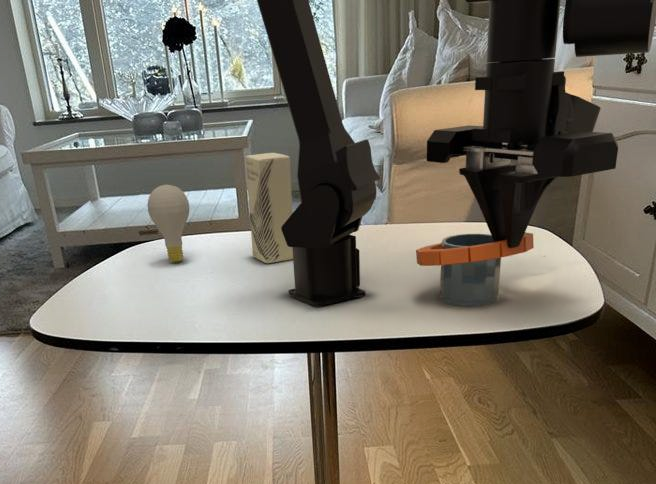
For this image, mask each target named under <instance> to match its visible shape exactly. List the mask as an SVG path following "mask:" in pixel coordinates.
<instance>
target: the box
mask: <svg viewBox="0 0 656 484" xmlns="http://www.w3.org/2000/svg"><path fill="white" fill-rule="evenodd" d="M244 158H245V167H246V168H245V169H246V170H245V171H246V181H247V195H248V207H249V208H248V209H249V210H248V211H249V221H250V223H249V224H250V234H251V235H250V236H251V247H252V248H251V249H252V256H253V257H254V258H255V259H256V260H258V261H261V262H262V263H264V264H272V263H279V262H285V261H286V262H287V261H291V260H293V250H292V247H288V246H287V243H286V241H285V238H284V235H283V233H282V230H281V227H282V225H283V224H284V223H285V222H286V221H287V219H288V218H289V217H290V216H291V215H292V213H293V197H292V195H293V194H292V173H291V171H292V170H291V157H290V156H289V155H285V154H284V153H283V154H282V153H277V152H267V153H257V154H249V155H245V157H244Z"/></svg>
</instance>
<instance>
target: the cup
mask: <svg viewBox="0 0 656 484" xmlns="http://www.w3.org/2000/svg"><path fill="white" fill-rule="evenodd" d="M493 242H494V240H493V238H492V235H491V233H490V234H489V233H488V234H486V233H461V234H454V235H449V236H447V237H444V238H443V239H442V240H441V242H440V243H441V249H449V248H458V247H467V246H474V245H480V244H487V243H493ZM501 264H502V257H500V258H496V259H489V260H483V261H477V262H468V263H460V264H451V265H440V279H439V281H440V282H439V299H440V301H441V302H443V303H445V304H447V305H451V306H456V307H479V306H486V305H490V304H493V303H495V302H497V301H498V299H499V293H500V279H501Z"/></svg>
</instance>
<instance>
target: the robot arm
mask: <svg viewBox="0 0 656 484" xmlns="http://www.w3.org/2000/svg"><path fill="white" fill-rule="evenodd" d="M256 2H257V5H258V8H259V12H260V16H261V20H262V22H263V25H264V29H265V31H266V35H267V39H268V42H269V45H270V49H271V52H272V57H273V59H274V62H275V66H276V69H277V72H278V76H279V80H280V83H281V85H282V89H283V92H284V96H285V99H286V102H287V106H288V109H289V113H290V115H291V120H292V122H293V127H294V129H295V132H296V136H297V139H298V157H297V158H298V159H297V172H296V178H297V185H298V191H299V198H300V203H299V204H298V206H297V207H296V209H294V210H293V211H292V215H291V216H290V217H289V218H288V219H287V221H286V222H285V223H284V224H283V225H282V227H281V230H282V233H283V235H284V238H285V241H286V243H287V246H288V247H292V250H293V259H292V264H293V265H292V266H293V281H294V288H291V289H288V296H291V297H293V298H296V299H298V300H299V301H303V302H305V303H307V304H309V305H311V306H313V307H321V306H326V305H329V304H334V303H338V302H342V301H347V300H350V299H351V300H352V299H355V298H360V297H364V296H366V290H364V289H362V288H359V287H360V286H361V264H360V263H361V262H360V261H361V260H360V249H359V248H357V236H356V235H353V233H357V232H358V231H359V230H360V226H361V223H362V220H363V217H364V216H366V214H368V212H369V211H370V210H371V209H372V208H373V205H374V203H375V201H376V199H377V184H376V182H377V181H380V180H381V175H379V173H378V172H377V170H376V167H375V166H374V163H373V156H372V149H371V148H372V147H371V145H370V141H369V140H368V139H367V138H366V139H364V140H359V141H357V142H356V141H355V140H354V139H353V138H352V137H351V135H350V134H349V132H348V131H347V130H346V128H345V125H344V123H343V119H342V116H341V112H340V110H339V105H338V102H337V99H336V94H335V90H334V88H333V84H332V80H331V76H330V73H329V68H328V65H327V62H326V58H325V55H324V52H323V48H322V45H321V40H320V36H319V33H318V29H317V26H316V23H315V19H314V15H313V11H312V8H311V4H310V1H309V0H256ZM465 2H466V3H469V4H489V6H488V8H489V9H488V26H487V27H488V28H487V44H486V46H487V47H486V63H485V64H486V65H485V66H486V67H485V76H475V81H474V91H484V102H483V103H484V104H483V120H482V121H483V122H482V124H483V125H470V124H469V125H461V126H454V127H447V128H440V129H434V130H433V131H432V133H431V135H430V136H429V137H428V139H427V140H426V162H430V163H431V162H432V163H438V164H445V163H447V164H448V163H449V162H450V160H451V159H454V158H459V157H463V156H464V157H465V167H461V168H459V169H458V173H459V176H463V177H464V178H465V180H466V182H467V184H468V186H469V188H470V190H471V192H472V194H473V196H474V198H475V200H476V202H477V204H478V206H479V209H480V211H481V214H482V216H483V219H484V221H485V224H486V226H487V228H488V230H489V233H490V235H492V238H493V240H494V242H498V241H502V240H507V244H508V247H509V248H515V247H518V246H519V245H520V243H521V240H522V238H523V236H524V233H525V232H526V231H527V229H528V226H529V224H530V222H531V219H532V217H533V215H534V212H535V210H536V208H537V206H538V204H539V202H540V200H541V199H542V196H543V194H544V193H545V191H546V189H547V188H548V187H549V186H550V185H551V184H552V183H553V182H554V181H555V180H556V179H557V178H569V177H570V178H572V177H576V176H577V177H578V176H583V175H588V174H593V173H600V172H605V171H610V170H616V168H617V160H618V153H619V144H618V142H617V139H616V138H615V136H614V134H613V132H599V131H598V132H597V131H594V129H595V126H596V124H597V120H598V119H599V115H600V113H601V109H602V107H600V106H598V105H597V104H595V103H592V102H590V101H588V100H586V99H584V98H582V97H580V96H578V95H575V94H571V93H569V92H567V91H566V85H567V84H566V82H567V78H566V76H565V71H564V70H563V71H555V64H556V54H557V43H558V32H559V20H560V10H561V9H560V8H561V0H465ZM562 18H563V20H562V42H563V45H573V46H574V55H575V57H576V58H582V57H583V58H584V57H599V56H615V55H617V56H618V55H630V54H647V53H650V51H651V46H652V42H653V38H654V32H655V27H656V0H565V4H564V11H563V17H562ZM511 160H512V161H511ZM513 161H517V162H513Z"/></svg>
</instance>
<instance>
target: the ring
mask: <svg viewBox="0 0 656 484" xmlns="http://www.w3.org/2000/svg"><path fill="white" fill-rule="evenodd" d="M441 243H442V242H439V243H433V244H430V245H425V246H422V247H420V248H417V249H415V255H416V256H415V257H416V264H417V265H419V266H422V267H429V266H430V267H431V266H432V267H435V266H437V267H439V266H441V265H451V264H460V263H468V262H477V261H483V260H489V259H496V258H500V257H501V258H505V257H511V256H515V255H519V254H524V253H527V252H529V251H530V250H532V249H534V247H535V246H534V244H535V243H534V233H531V232H526V231H525V233H524V236H523V238H522V240H521V243H520V245H519V246H518V247H515V248H509V247H508V244H507V240H502V241H498V242H493V243H487V244H480V245H474V246H467V247H458V248H449V249H441Z"/></svg>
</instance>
